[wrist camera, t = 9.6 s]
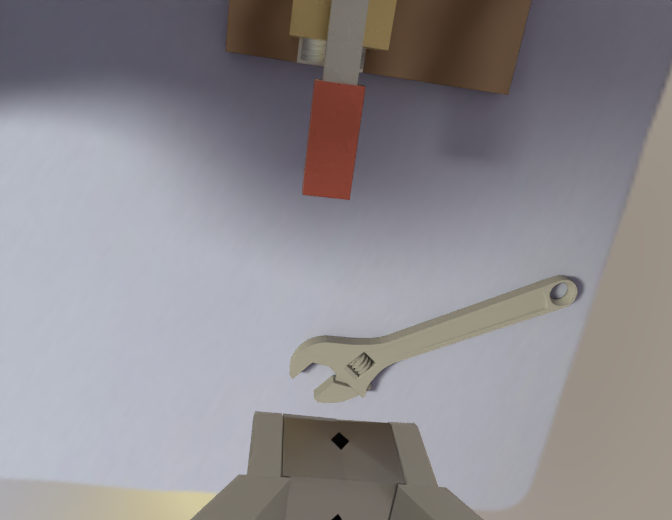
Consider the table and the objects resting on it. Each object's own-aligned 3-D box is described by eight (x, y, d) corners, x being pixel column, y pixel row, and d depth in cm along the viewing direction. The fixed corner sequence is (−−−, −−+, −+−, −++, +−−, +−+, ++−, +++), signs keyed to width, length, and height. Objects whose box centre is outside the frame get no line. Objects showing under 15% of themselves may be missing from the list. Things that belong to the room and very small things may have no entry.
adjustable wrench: (567, 267, 46) (577, 275, 45) (573, 331, 49) (583, 340, 47) (285, 342, 47) (285, 353, 45) (305, 402, 49) (305, 414, 48)
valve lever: (328, -69, 27) (330, -76, 25) (384, -60, 27) (389, -66, 26) (300, 187, 31) (300, 194, 30) (348, 192, 32) (351, 199, 30)
